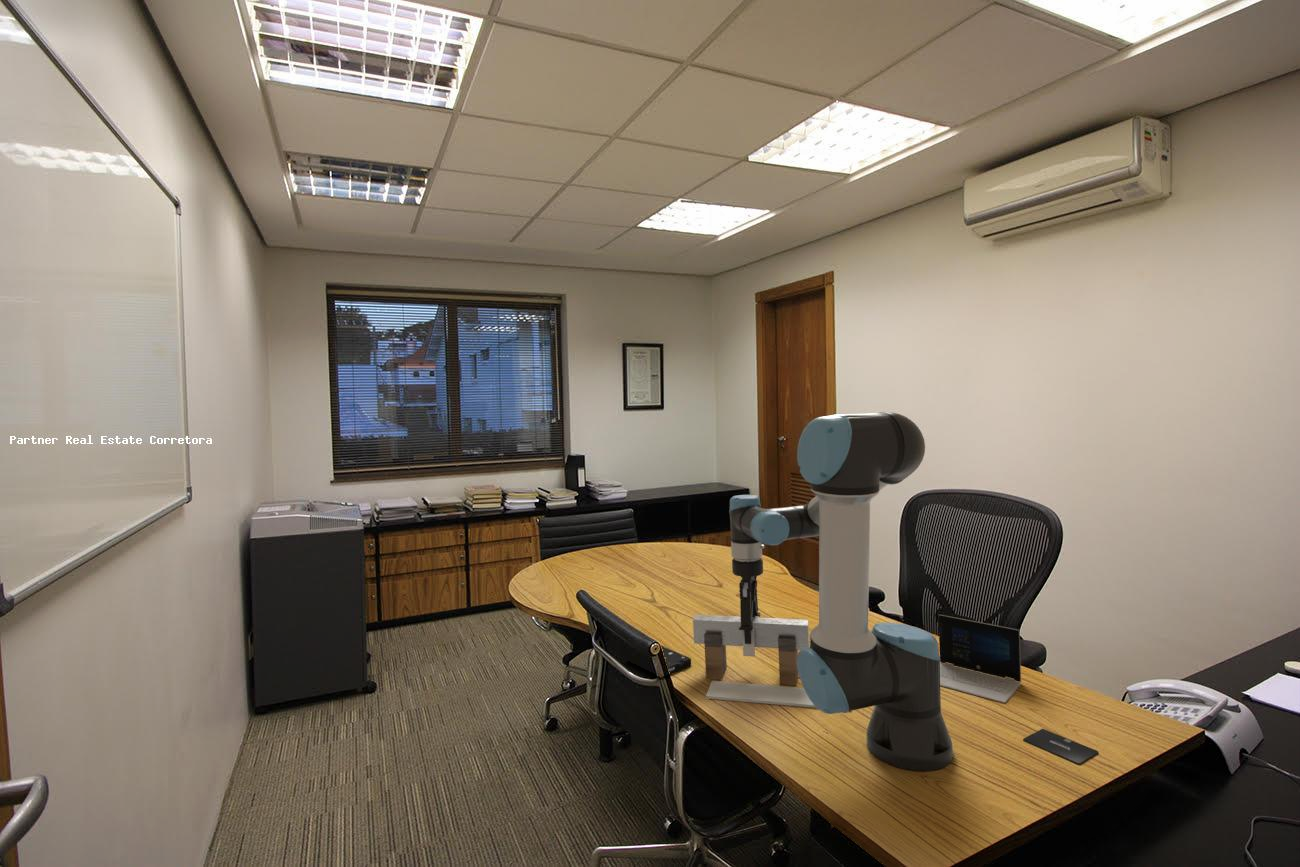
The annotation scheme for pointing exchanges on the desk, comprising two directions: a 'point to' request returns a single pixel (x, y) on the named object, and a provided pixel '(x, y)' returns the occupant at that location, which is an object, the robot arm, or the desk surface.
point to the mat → (759, 694)
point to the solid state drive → (1061, 746)
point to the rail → (763, 630)
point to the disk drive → (675, 660)
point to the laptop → (979, 658)
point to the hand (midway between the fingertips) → (751, 648)
